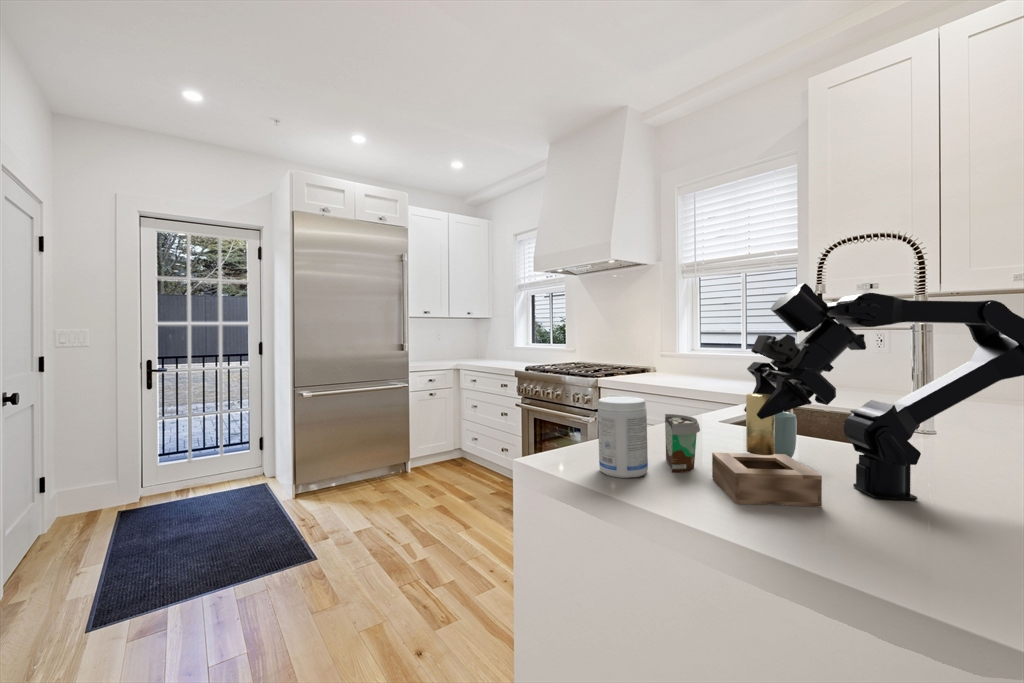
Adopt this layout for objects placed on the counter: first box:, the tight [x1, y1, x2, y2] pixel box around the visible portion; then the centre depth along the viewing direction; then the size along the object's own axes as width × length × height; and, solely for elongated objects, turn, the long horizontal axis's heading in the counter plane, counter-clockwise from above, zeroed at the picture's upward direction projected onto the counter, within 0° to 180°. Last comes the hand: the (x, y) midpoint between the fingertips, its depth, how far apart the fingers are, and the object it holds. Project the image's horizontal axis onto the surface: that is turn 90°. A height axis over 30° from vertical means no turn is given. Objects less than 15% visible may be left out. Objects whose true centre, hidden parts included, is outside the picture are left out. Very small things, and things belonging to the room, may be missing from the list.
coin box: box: [711, 452, 823, 507], centre depth 81 cm, size 13×13×5 cm
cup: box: [775, 411, 798, 459], centre depth 101 cm, size 8×8×10 cm
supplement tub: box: [597, 396, 649, 479], centre depth 93 cm, size 10×10×15 cm
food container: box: [664, 413, 701, 474], centre depth 96 cm, size 12×6×10 cm, turn 168°
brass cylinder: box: [745, 393, 775, 455], centre depth 80 cm, size 4×4×10 cm
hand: (752, 414), depth 81 cm, fingers closed on brass cylinder, 4 cm apart
